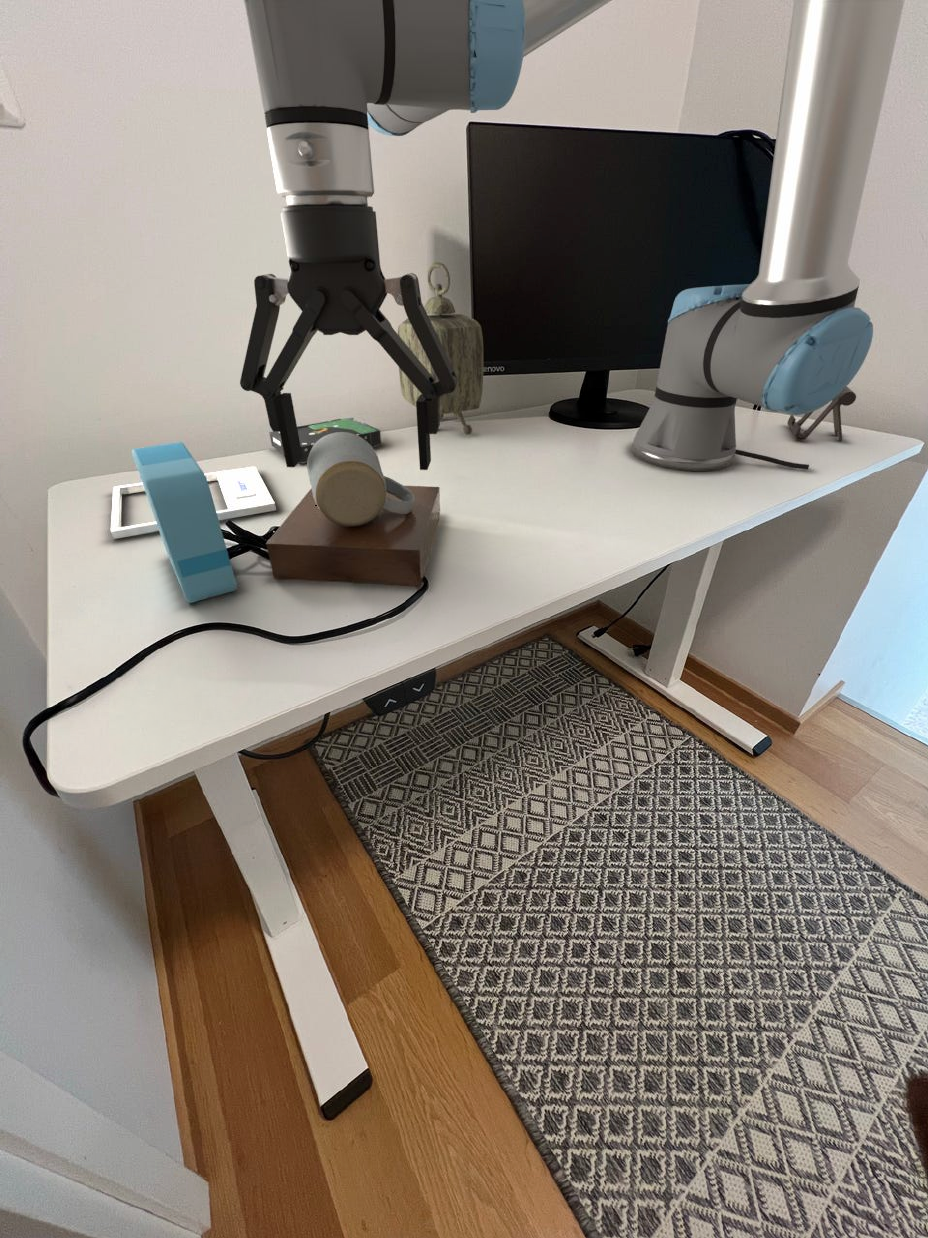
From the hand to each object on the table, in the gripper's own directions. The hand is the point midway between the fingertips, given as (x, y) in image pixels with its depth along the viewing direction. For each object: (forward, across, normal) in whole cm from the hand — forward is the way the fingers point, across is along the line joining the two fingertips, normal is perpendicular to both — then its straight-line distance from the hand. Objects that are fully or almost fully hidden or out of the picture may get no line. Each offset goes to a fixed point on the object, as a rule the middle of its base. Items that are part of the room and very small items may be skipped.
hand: (359, 464), depth 56 cm
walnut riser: (+9, 0, 0) cm, 9 cm away
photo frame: (+9, -25, +9) cm, 28 cm away
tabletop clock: (+10, +2, +45) cm, 46 cm away
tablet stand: (+11, +68, +48) cm, 84 cm away
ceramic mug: (+5, 0, 0) cm, 5 cm away
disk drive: (+9, -14, +33) cm, 37 cm away
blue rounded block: (+9, -16, -8) cm, 20 cm away
